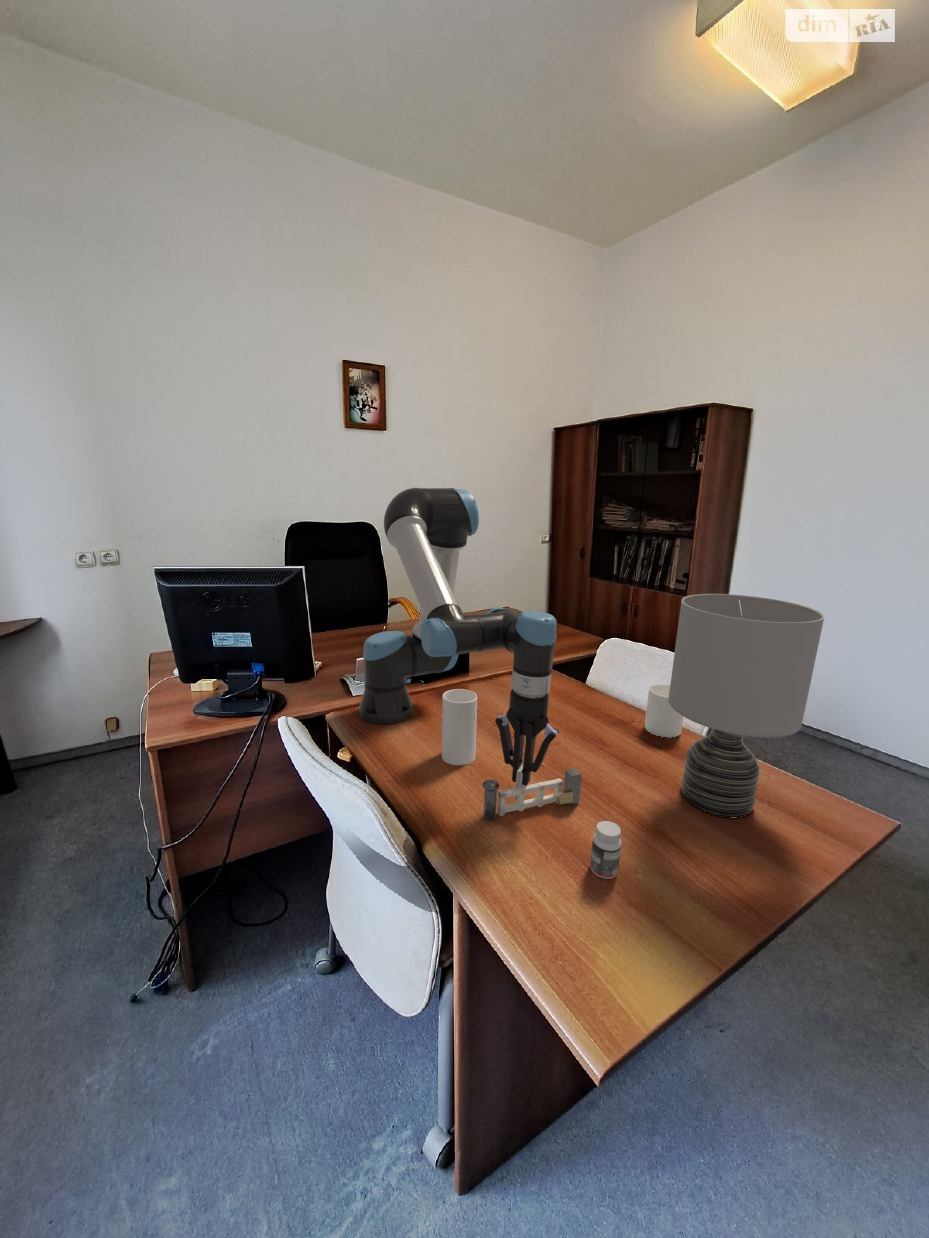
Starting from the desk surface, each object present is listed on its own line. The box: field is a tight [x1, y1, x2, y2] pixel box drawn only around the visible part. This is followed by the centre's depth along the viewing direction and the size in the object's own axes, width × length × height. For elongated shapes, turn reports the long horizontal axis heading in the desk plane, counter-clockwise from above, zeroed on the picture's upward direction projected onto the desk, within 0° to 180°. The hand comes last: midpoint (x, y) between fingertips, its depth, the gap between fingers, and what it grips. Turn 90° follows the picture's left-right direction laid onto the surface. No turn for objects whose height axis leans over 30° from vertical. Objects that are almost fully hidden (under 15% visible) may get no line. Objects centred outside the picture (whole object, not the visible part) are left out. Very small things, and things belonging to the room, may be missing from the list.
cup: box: [441, 688, 478, 766], centre depth 121 cm, size 8×8×16 cm
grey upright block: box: [557, 768, 582, 807], centre depth 104 cm, size 3×5×7 cm, turn 108°
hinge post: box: [482, 779, 500, 822], centre depth 99 cm, size 3×3×7 cm
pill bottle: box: [589, 820, 622, 880], centre depth 86 cm, size 5×5×8 cm
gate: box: [497, 777, 564, 817], centre depth 103 cm, size 14×1×5 cm, turn 110°
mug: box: [644, 684, 684, 739], centre depth 138 cm, size 10×12×12 cm
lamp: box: [668, 593, 825, 819], centre depth 102 cm, size 24×24×42 cm
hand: (519, 796), depth 104 cm, fingers closed
